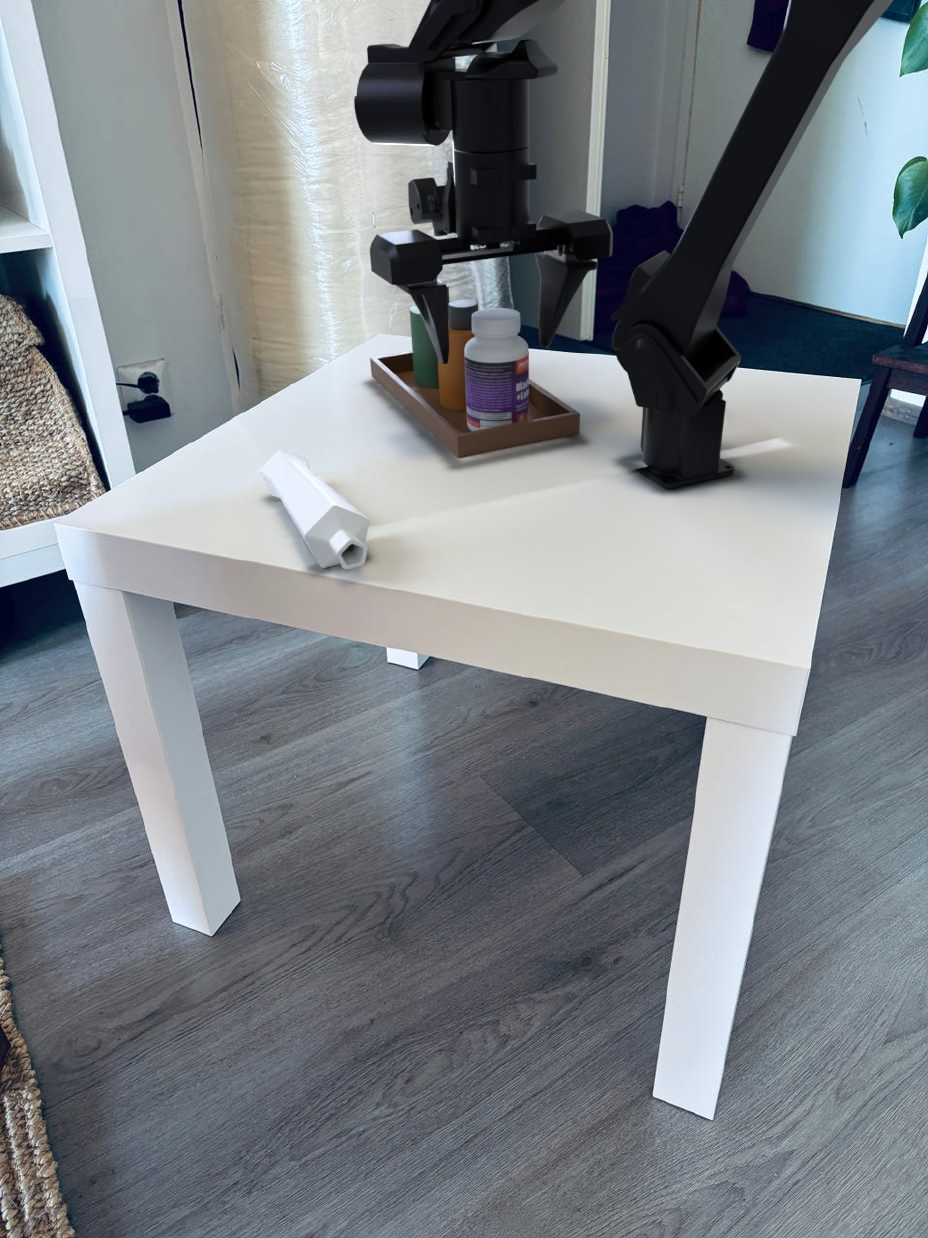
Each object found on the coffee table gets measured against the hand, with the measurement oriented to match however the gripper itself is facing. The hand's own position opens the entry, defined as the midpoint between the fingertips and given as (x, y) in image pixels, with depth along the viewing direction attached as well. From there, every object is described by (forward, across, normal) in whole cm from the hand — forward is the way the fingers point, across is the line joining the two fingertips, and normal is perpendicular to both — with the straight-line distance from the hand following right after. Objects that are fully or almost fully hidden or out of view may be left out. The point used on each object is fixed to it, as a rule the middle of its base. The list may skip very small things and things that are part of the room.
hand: (494, 354), depth 80 cm
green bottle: (+6, 0, -14) cm, 15 cm away
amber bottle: (+6, 0, -7) cm, 9 cm away
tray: (+7, 0, -7) cm, 10 cm away
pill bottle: (+7, 0, 0) cm, 7 cm away
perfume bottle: (+5, +19, +4) cm, 20 cm away
